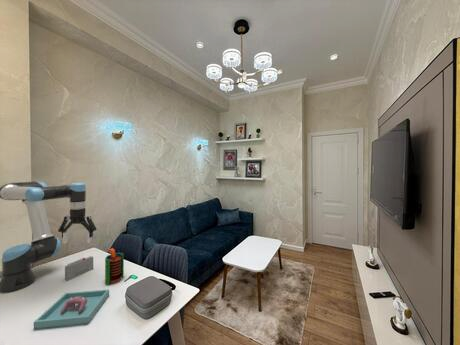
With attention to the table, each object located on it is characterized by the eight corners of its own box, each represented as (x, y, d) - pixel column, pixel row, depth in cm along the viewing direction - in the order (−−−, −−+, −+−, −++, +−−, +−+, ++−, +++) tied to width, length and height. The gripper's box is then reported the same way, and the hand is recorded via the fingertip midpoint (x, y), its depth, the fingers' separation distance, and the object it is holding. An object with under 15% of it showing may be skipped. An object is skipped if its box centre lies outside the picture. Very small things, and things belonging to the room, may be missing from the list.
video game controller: (85, 312, 95) (90, 295, 98) (79, 314, 91) (84, 297, 94) (65, 312, 95) (70, 296, 98) (58, 315, 91) (63, 297, 94)
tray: (33, 329, 84) (33, 322, 84) (65, 299, 104) (65, 292, 104) (88, 324, 87) (88, 316, 87) (109, 295, 107) (109, 289, 107)
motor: (113, 286, 115) (113, 253, 115) (101, 284, 117) (100, 252, 117) (125, 277, 125) (125, 247, 125) (114, 275, 127) (114, 245, 127)
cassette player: (91, 268, 136) (90, 254, 136) (93, 269, 135) (93, 255, 135) (65, 280, 122) (64, 264, 121) (67, 281, 121) (67, 265, 120)
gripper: (50, 209, 110) (50, 245, 111) (96, 209, 113) (95, 244, 114) (60, 206, 118) (60, 240, 118) (103, 207, 121) (102, 239, 121)
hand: (77, 242), depth 116 cm, fingers open, 13 cm apart
